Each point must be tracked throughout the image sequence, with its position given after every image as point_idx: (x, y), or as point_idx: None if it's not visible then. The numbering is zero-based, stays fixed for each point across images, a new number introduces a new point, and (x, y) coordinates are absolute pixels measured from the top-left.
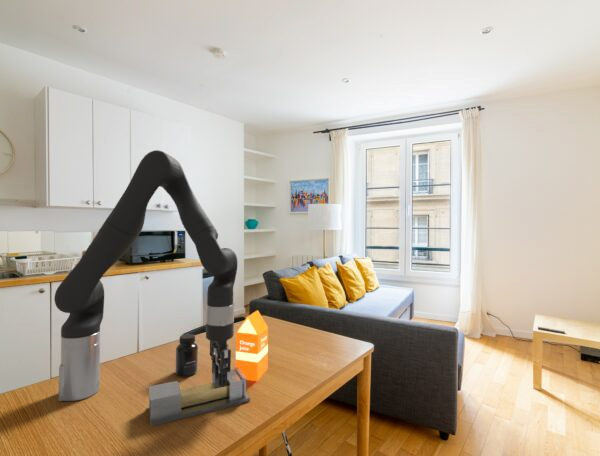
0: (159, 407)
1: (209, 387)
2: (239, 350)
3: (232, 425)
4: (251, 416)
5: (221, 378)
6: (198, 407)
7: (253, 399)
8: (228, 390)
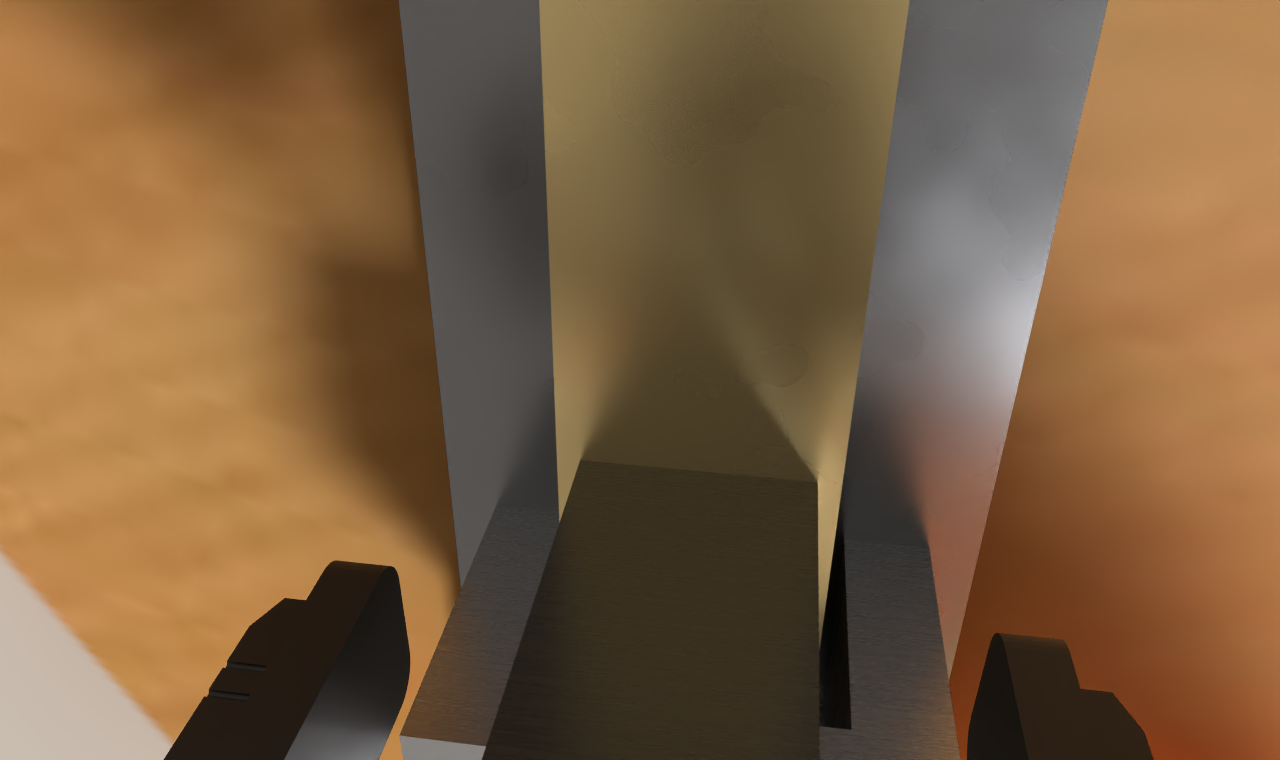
0: None
1: (661, 386)
2: None
3: (26, 345)
4: (166, 574)
5: (192, 724)
6: (506, 27)
7: None
8: None
